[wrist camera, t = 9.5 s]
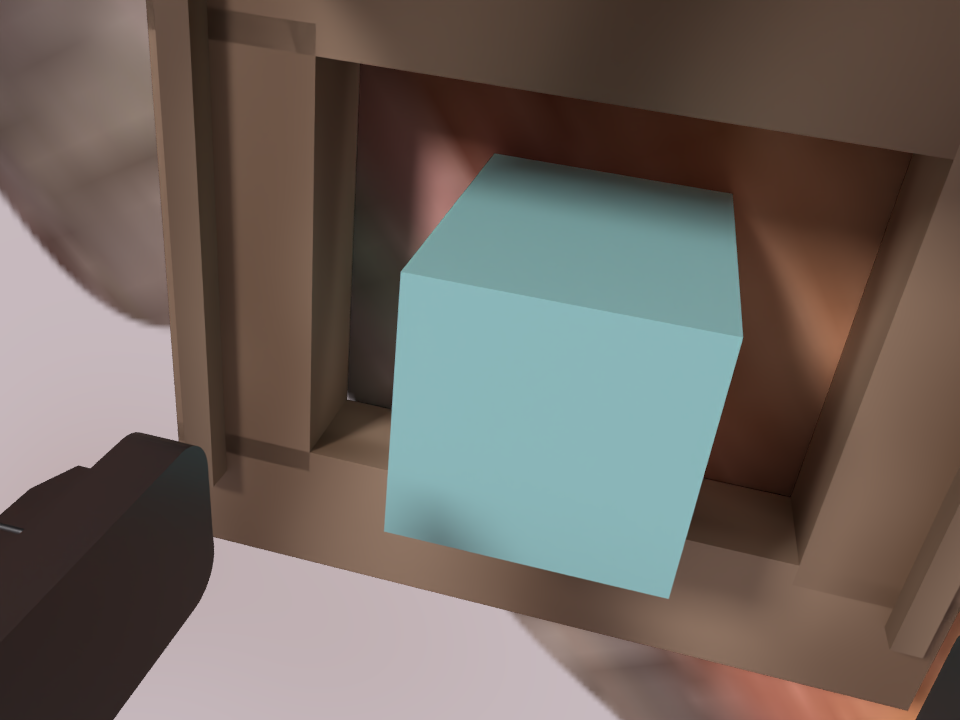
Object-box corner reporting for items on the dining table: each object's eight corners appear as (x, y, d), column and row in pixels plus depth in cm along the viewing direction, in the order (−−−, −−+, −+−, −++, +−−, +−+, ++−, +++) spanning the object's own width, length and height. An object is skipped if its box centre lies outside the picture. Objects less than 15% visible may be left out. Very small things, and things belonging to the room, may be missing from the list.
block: (471, 356, 19) (384, 531, 14) (494, 153, 17) (400, 272, 12) (680, 399, 18) (668, 599, 13) (732, 193, 16) (743, 337, 11)
